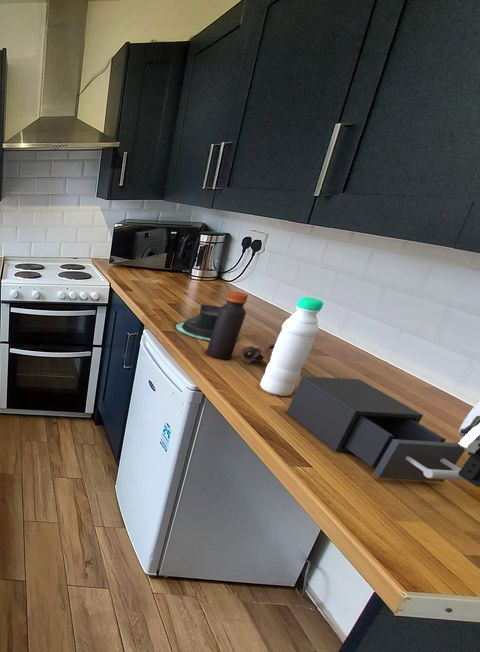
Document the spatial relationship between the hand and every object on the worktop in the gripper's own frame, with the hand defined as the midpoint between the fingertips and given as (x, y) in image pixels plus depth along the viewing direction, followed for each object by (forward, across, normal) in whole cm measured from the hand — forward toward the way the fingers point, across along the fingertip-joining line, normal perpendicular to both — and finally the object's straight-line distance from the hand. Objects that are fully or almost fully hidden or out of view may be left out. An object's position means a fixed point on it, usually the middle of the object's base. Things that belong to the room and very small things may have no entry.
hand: (473, 481), depth 64 cm
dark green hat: (+7, +2, +85) cm, 86 cm away
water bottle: (+8, -2, +42) cm, 43 cm away
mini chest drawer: (+6, 0, +12) cm, 13 cm away
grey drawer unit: (+7, 0, +24) cm, 25 cm away
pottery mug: (+8, +3, +57) cm, 57 cm away
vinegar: (+8, -5, +64) cm, 64 cm away
